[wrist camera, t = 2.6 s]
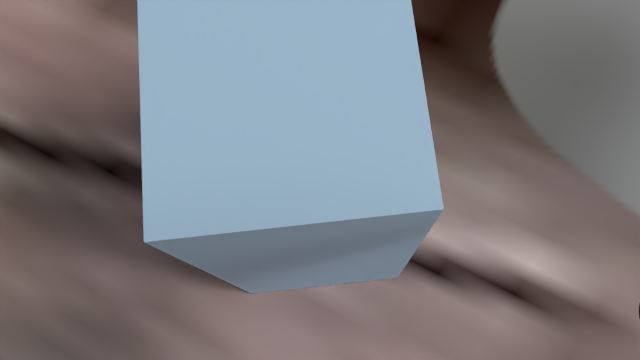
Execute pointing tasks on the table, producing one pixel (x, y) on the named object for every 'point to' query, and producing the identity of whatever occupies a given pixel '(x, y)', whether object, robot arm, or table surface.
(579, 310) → the table surface
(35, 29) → the table surface
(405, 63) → the dusty blue block
